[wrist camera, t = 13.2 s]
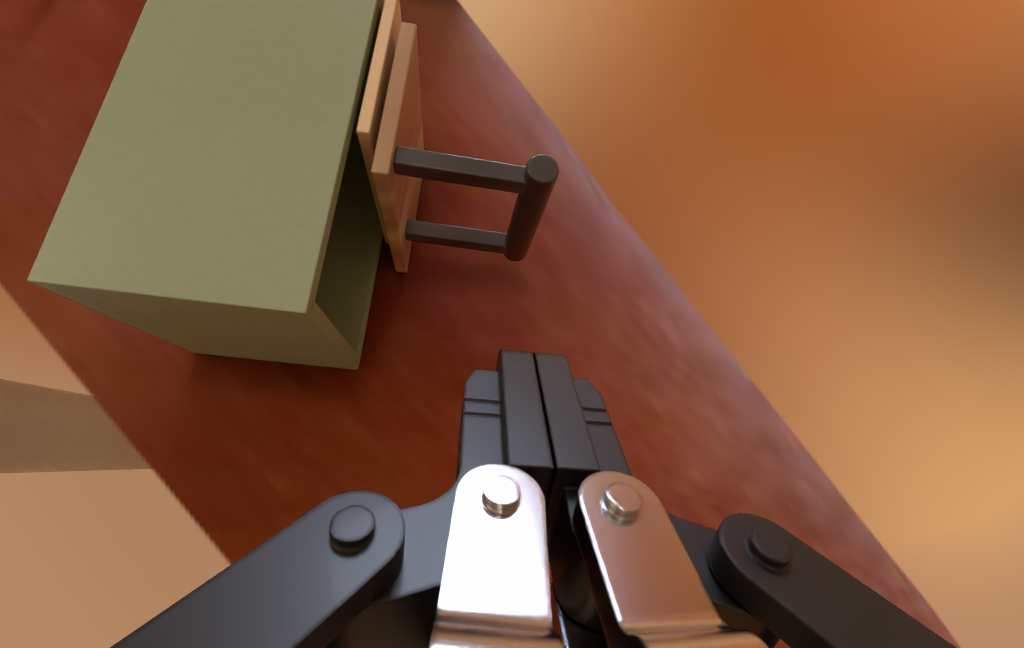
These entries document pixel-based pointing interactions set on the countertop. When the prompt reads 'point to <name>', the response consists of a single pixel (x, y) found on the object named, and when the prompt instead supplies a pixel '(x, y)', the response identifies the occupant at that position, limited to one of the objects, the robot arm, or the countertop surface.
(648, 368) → the countertop surface
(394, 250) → the brown panel dark handle
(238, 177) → the cabinet
